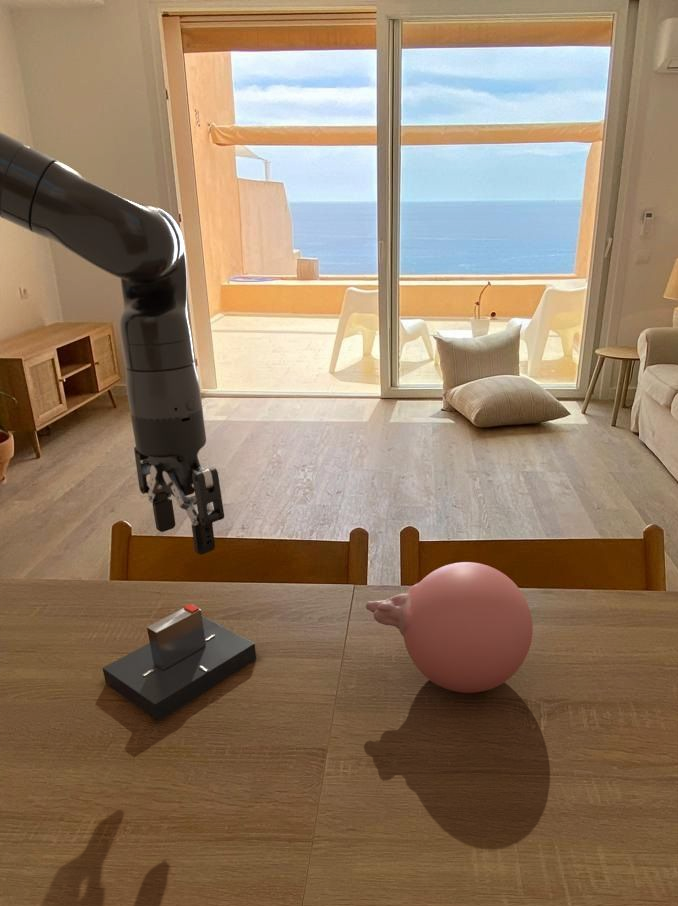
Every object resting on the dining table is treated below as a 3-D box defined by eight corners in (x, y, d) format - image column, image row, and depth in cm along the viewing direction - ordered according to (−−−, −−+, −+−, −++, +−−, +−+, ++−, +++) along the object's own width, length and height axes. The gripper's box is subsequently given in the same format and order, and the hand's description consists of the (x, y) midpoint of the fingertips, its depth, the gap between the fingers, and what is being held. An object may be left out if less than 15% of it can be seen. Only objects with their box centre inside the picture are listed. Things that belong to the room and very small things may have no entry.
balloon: (382, 632, 96) (381, 532, 89) (530, 650, 91) (539, 546, 85) (352, 704, 82) (347, 592, 76) (524, 730, 78) (534, 613, 71)
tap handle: (163, 670, 84) (156, 631, 82) (153, 664, 86) (146, 625, 83) (206, 645, 89) (200, 607, 87) (196, 640, 90) (190, 602, 88)
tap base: (158, 721, 80) (154, 703, 79) (105, 684, 86) (101, 666, 85) (256, 659, 90) (254, 642, 89) (203, 630, 97) (201, 614, 96)
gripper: (102, 401, 77) (126, 532, 84) (169, 427, 68) (190, 571, 75) (163, 388, 82) (181, 513, 89) (233, 411, 73) (247, 548, 80)
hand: (185, 540), depth 82 cm, fingers open, 8 cm apart
